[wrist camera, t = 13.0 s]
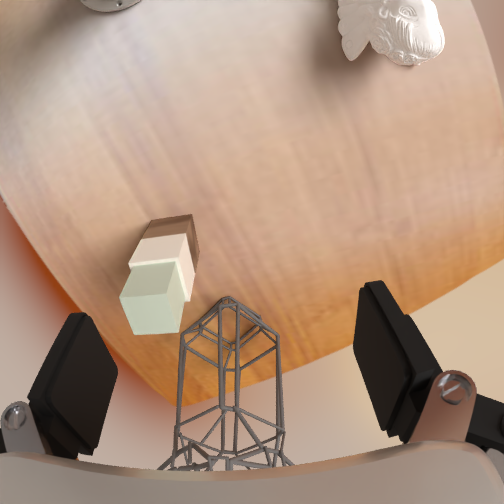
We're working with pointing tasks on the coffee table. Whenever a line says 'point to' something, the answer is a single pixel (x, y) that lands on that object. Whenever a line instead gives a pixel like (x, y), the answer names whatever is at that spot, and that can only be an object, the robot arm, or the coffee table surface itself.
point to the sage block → (153, 298)
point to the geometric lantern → (222, 373)
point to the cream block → (167, 257)
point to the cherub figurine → (391, 29)
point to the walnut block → (176, 232)
